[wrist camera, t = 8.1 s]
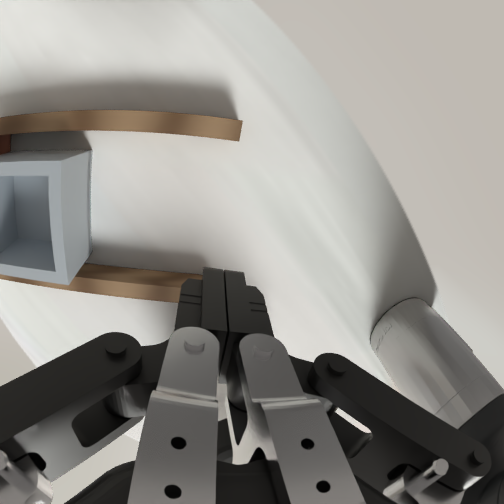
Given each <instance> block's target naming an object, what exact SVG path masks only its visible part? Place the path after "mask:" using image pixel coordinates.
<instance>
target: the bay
mask: <svg viewBox="0 0 504 504" xmlns="http://www.w3.org/2000/svg"><path fill="white" fill-rule="evenodd" d="M242 122H243V121H241V120H234V119H227V118H220V117H212V116H203V115H194V114H183V113H171V112H156V111H135V110H78V111H58V112H44V113H33V114H24V115H15V116H8V117H1V118H0V155H1V154H4V153H8V152H10V145H11V134H18V133H30V132H47V131H80V130H101V131H135V132H153V133H167V134H179V135H190V136H200V137H209V138H217V139H225V140H232V141H239V139H240V133H241V128H242ZM188 278H191V279H199V280H202V275H199V274H188V273H176V272H165V271H155V270H144V269H134V268H124V267H115V266H105V265H96V264H87V263H84V264H83V265H82V267H81V268H80V270H79V271H78V272H77V274H76V275H75V277H74V278H73V280H72V281H71V283H70V284H69V285H64V284H57V283H50V282H44V281H37V280H31V279H25V278H19V277H13V276H7V275H2V274H0V279H4V280H9V281H15V282H20V283H26V284H32V285H38V286H44V287H50V288H57V289H64V290H70V291H77V292H85V293H92V294H100V295H108V296H116V297H125V298H134V299H144V300H154V301H164V302H175V303H179V297H180V291H181V285H182V284H183V283H184V282H185V281H186V280H187V279H188Z"/></svg>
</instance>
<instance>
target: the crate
mask: <svg viewBox="0 0 504 504" xmlns="http://www.w3.org/2000/svg"><path fill="white" fill-rule="evenodd" d="M91 166H92V150H35V151H14V152H8V153H4V154H1V155H0V274H2V275H7V276H13V277H19V278H25V279H31V280H37V281H44V282H50V283H57V284H64V285H69V284H70V283H71V281H72V280H73V278H74V277H75V275H76V274H77V272H78V271H79V270H80V268H81V267H82V265H83V264H84V262H85V261H86V260H87V258H88V257H89V255H90V254H91V253H92V237H91Z"/></svg>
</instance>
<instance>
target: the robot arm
mask: <svg viewBox="0 0 504 504" xmlns="http://www.w3.org/2000/svg"><path fill="white" fill-rule="evenodd" d="M371 347H372V349H373V351H374V352H375V354H376V355H377V357H378V358H379V360H380V362H381V363H382V365H383V366H384V368H385V370H386V371H387V373H388V374H389V376H390V377H391V379H392V381H393V382H394V384H395V385H396V387H397V389H398V390H399V392H400V393H401V394H400V393H399V392H397V391H395V390H394V389H392V388H391V387H389V386H388V385H386V384H385V383H383V382H382V381H380V380H378V379H377V378H375V377H374V376H372V375H371V374H369V373H368V372H366V371H365V370H363V369H362V368H360V367H359V366H357V365H356V364H354V363H353V362H351V361H350V360H348V359H347V358H345V357H343V356H341V355H338V354H334V353H324V354H321V355H319V356H318V357H317V358H316V359H315V361H314V363H313V362H309V361H306V360H302V359H298V358H295V357H292V356H290V355H288V353H287V350H286V348H285V346H284V345H283V344H282V343H281V342H280V341H279V340H278V339H276V338H274V334H273V331H272V327H271V323H270V319H269V315H268V313H267V308H266V305H265V300H264V296H263V294H262V293H261V292H260V291H259V290H258V289H257V288H256V287H254V286H246V282H245V276H244V272H237V271H230V270H224V272H223V270H222V269H215V268H207V267H204V269H203V275H202V280H199V279H191V278H188V279H187V280H186V281H185V282H184V283H183V284H182V285H181V291H180V297H179V303H178V310H177V316H176V323H175V329H174V332H173V333H172V335H171V336H170V338H169V339H168V340H166V341H165V342H163V343H160V344H157V345H150V346H140V344H139V342H138V341H137V340H136V339H135V338H133V337H132V336H130V335H128V334H125V333H120V332H111V333H106V334H103V335H101V336H99V337H97V338H95V339H93V340H91V341H89V342H87V343H85V344H83V345H81V346H79V347H77V348H75V349H73V350H71V351H69V352H67V353H65V354H63V355H62V356H60V357H58V358H56V359H54V360H52V361H50V362H48V363H46V364H44V365H42V366H40V367H38V368H36V369H34V370H32V371H30V372H28V373H26V374H24V375H23V376H20V377H18V378H16V379H14V380H12V381H10V382H8V383H6V384H4V385H2V386H0V504H51V502H52V499H53V489H52V485H51V482H53V481H54V480H56V479H57V478H59V477H61V476H62V475H64V474H65V473H67V472H68V471H70V470H71V469H73V468H74V467H76V466H77V465H79V464H80V463H82V462H83V461H85V460H86V459H88V458H89V457H91V456H92V455H94V454H95V453H97V452H98V451H100V450H101V449H102V448H104V447H105V446H107V445H108V444H110V443H111V442H112V441H114V440H115V439H117V438H118V437H119V436H121V435H122V434H123V433H125V432H126V431H128V430H129V429H130V428H132V427H133V426H134V425H136V424H137V423H138V422H140V421H141V420H142V419H143V417H144V416H145V421H144V425H143V429H142V433H141V438H140V442H139V447H138V452H137V456H136V460H135V461H131V462H127V463H124V464H121V465H119V466H116V467H115V468H112V469H111V470H109V471H107V472H106V473H104V474H103V475H102V476H101V477H99V478H98V479H97V480H95V481H94V482H93V483H91V484H90V485H89V486H87V487H86V488H85V489H83V490H82V491H81V492H79V493H78V494H77V495H76V496H74V497H73V498H71V499H70V500H69V501H67V502H66V503H64V504H504V389H503V388H502V387H501V386H500V385H499V383H498V382H497V381H496V380H495V378H494V377H493V376H492V375H491V374H490V373H489V371H488V370H487V369H486V368H485V367H484V365H483V364H482V363H481V362H480V361H479V360H478V359H477V358H476V356H475V355H474V354H473V351H472V349H471V348H470V347H469V346H468V345H467V344H466V342H465V341H464V340H463V339H462V338H461V337H460V336H459V335H458V334H457V333H456V332H455V331H454V329H453V328H452V327H451V326H450V325H449V324H448V323H447V322H446V321H445V320H444V319H443V318H442V317H441V316H440V315H439V314H438V313H437V312H436V311H435V310H434V309H433V308H430V307H429V306H428V305H427V304H426V303H425V302H424V301H423V300H421V299H418V298H412V299H407V300H405V301H402V302H400V303H399V304H397V305H395V306H394V307H392V308H391V309H390V310H389V311H387V313H386V314H385V315H384V316H383V317H382V318H381V319H380V320H379V322H378V323H377V325H376V326H375V328H374V330H373V333H372V335H371ZM217 378H218V384H227V394H226V398H225V409H226V414H227V420H228V426H229V432H230V437H231V443H232V448H233V462H232V464H231V463H227V462H223V461H219V460H217V432H218V400H216V395H217ZM338 407H339V408H340V409H341V410H343V411H344V412H346V413H347V414H349V415H350V416H351V417H353V418H354V419H356V420H357V421H359V422H360V423H362V424H363V425H364V426H366V427H367V428H369V429H370V431H371V433H365V432H363V431H361V430H359V429H358V428H357V427H355V426H354V425H352V424H351V423H349V422H348V421H347V420H345V419H344V418H342V417H341V416H340V415H338V414H337V413H335V411H336V410H337V408H338Z"/></svg>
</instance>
